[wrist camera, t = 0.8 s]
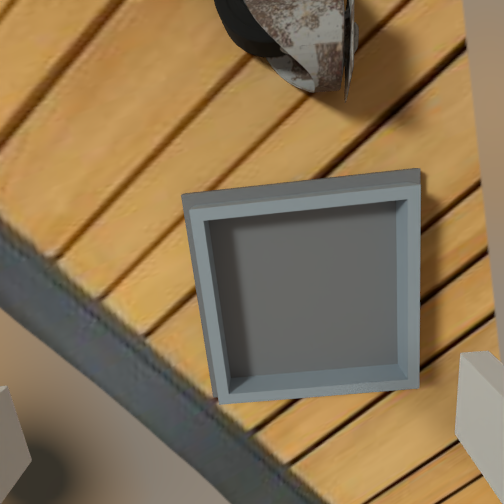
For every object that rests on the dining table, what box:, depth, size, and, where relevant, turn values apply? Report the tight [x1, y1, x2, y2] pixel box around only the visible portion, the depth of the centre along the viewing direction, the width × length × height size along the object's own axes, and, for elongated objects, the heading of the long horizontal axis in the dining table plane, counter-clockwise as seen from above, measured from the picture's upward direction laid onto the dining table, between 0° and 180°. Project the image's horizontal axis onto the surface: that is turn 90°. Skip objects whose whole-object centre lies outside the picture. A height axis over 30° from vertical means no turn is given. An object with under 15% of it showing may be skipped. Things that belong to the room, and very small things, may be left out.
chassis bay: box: [181, 168, 421, 405], centre depth 33 cm, size 20×20×4 cm
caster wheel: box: [214, 0, 359, 103], centre depth 26 cm, size 7×11×10 cm
